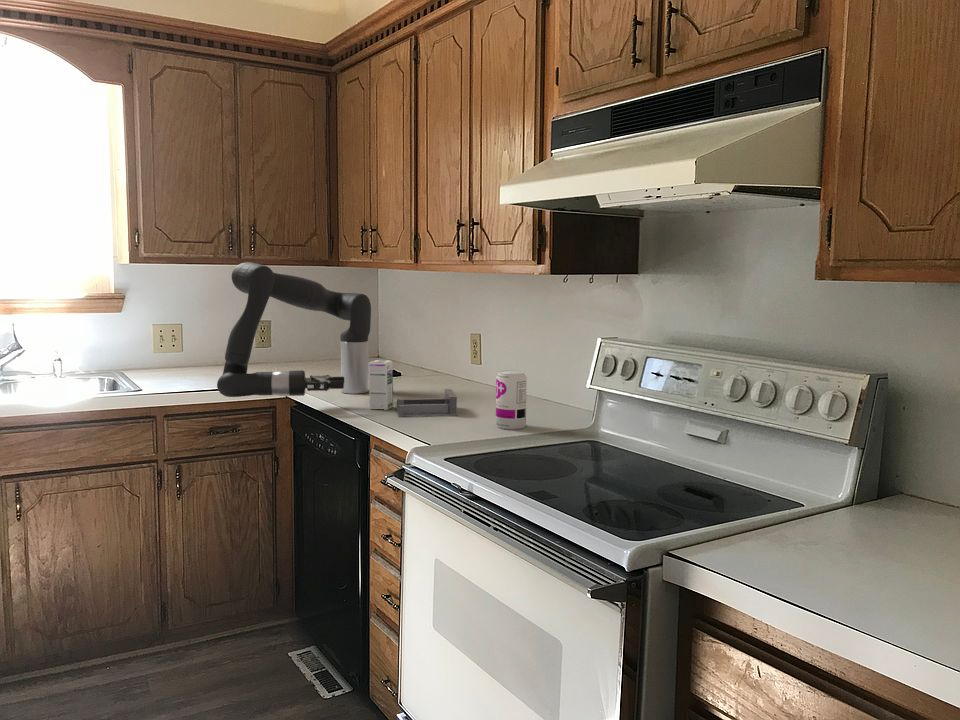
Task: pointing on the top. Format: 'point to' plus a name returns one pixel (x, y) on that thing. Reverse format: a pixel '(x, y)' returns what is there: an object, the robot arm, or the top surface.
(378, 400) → the syrup box
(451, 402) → the bracket
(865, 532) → the top surface
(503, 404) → the supplement can
